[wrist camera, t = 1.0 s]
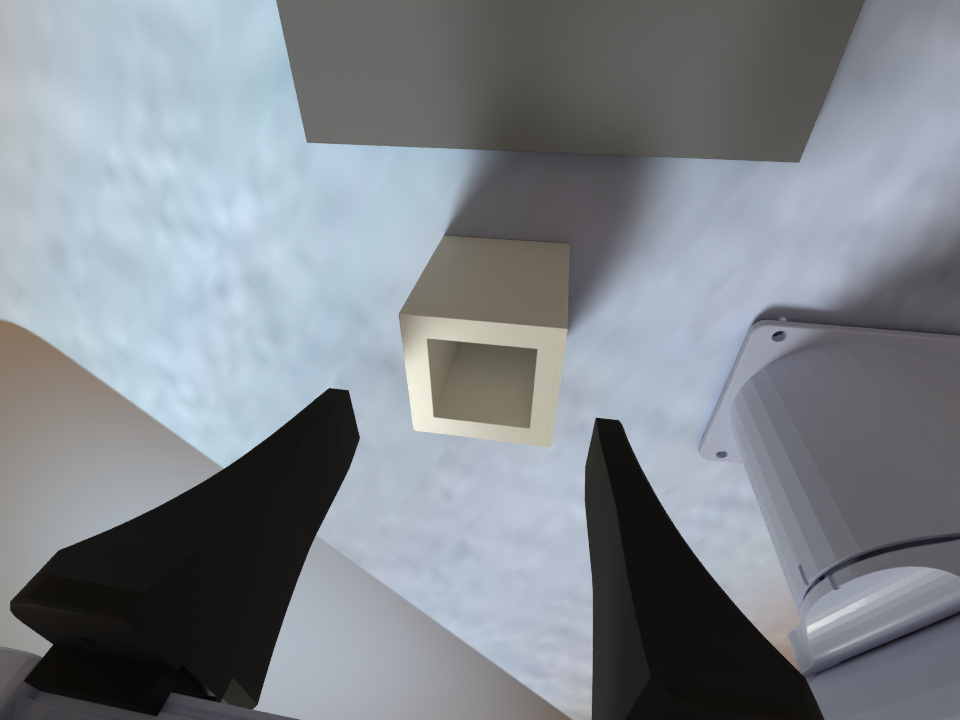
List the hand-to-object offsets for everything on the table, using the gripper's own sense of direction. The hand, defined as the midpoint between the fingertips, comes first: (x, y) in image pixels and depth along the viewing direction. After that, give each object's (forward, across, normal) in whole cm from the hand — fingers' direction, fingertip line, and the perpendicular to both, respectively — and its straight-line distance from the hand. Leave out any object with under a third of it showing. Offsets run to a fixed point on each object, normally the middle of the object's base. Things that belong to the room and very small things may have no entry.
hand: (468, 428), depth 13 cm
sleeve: (+8, 0, 0) cm, 8 cm away
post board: (+8, -1, -13) cm, 15 cm away
